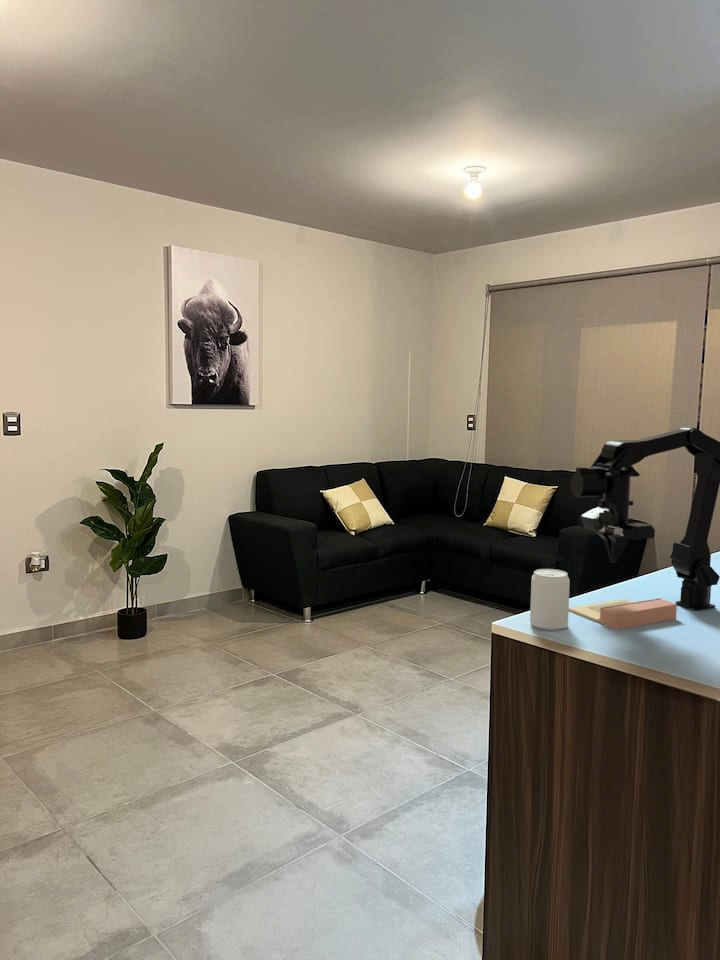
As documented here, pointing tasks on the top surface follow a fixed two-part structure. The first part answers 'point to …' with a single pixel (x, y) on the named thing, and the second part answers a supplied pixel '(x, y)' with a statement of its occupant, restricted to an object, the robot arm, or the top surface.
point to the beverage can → (549, 599)
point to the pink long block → (638, 613)
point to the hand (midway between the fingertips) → (613, 562)
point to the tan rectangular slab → (596, 609)
